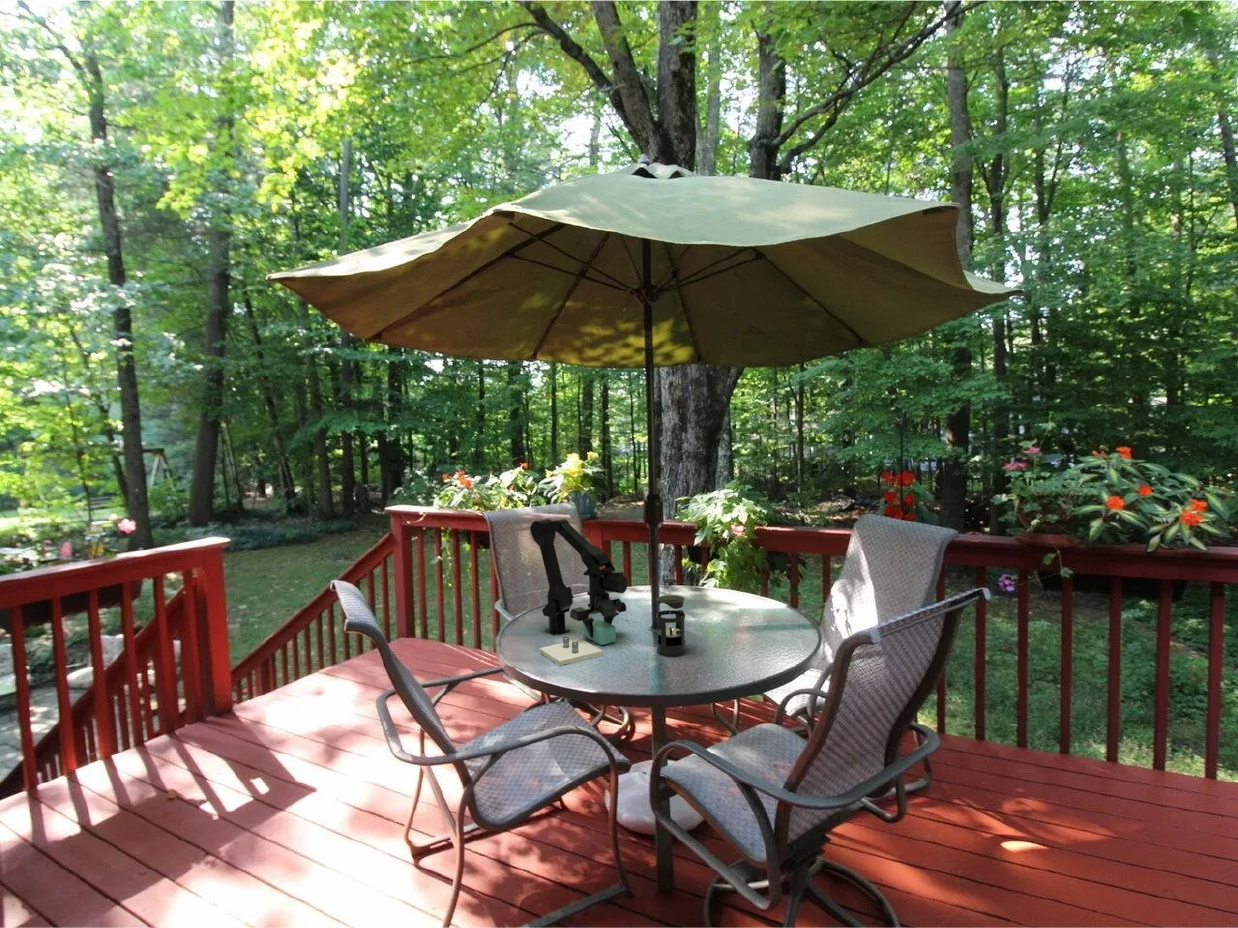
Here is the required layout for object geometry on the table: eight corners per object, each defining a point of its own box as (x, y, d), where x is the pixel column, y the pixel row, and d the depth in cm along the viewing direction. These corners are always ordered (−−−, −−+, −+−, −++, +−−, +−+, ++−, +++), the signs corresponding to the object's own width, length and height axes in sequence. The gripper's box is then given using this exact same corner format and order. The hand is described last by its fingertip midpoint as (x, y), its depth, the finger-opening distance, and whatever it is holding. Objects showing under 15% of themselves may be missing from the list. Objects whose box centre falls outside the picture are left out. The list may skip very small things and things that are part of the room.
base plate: (539, 652, 210) (539, 648, 210) (580, 643, 218) (580, 638, 218) (559, 666, 198) (559, 661, 198) (602, 655, 206) (602, 650, 206)
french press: (675, 659, 201) (673, 585, 199) (649, 653, 206) (647, 581, 205) (694, 648, 210) (693, 576, 209) (669, 643, 216) (668, 573, 214)
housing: (601, 644, 214) (600, 629, 214) (583, 635, 224) (583, 621, 224) (615, 641, 217) (615, 626, 217) (597, 632, 227) (597, 617, 227)
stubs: (561, 646, 211) (561, 637, 211) (567, 645, 212) (567, 636, 212) (574, 653, 204) (573, 644, 204) (579, 652, 205) (579, 642, 205)
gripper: (585, 599, 208) (586, 647, 209) (634, 589, 218) (636, 636, 219) (568, 591, 217) (570, 638, 218) (616, 583, 227) (618, 627, 228)
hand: (599, 635), depth 221 cm, fingers closed on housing, 6 cm apart
